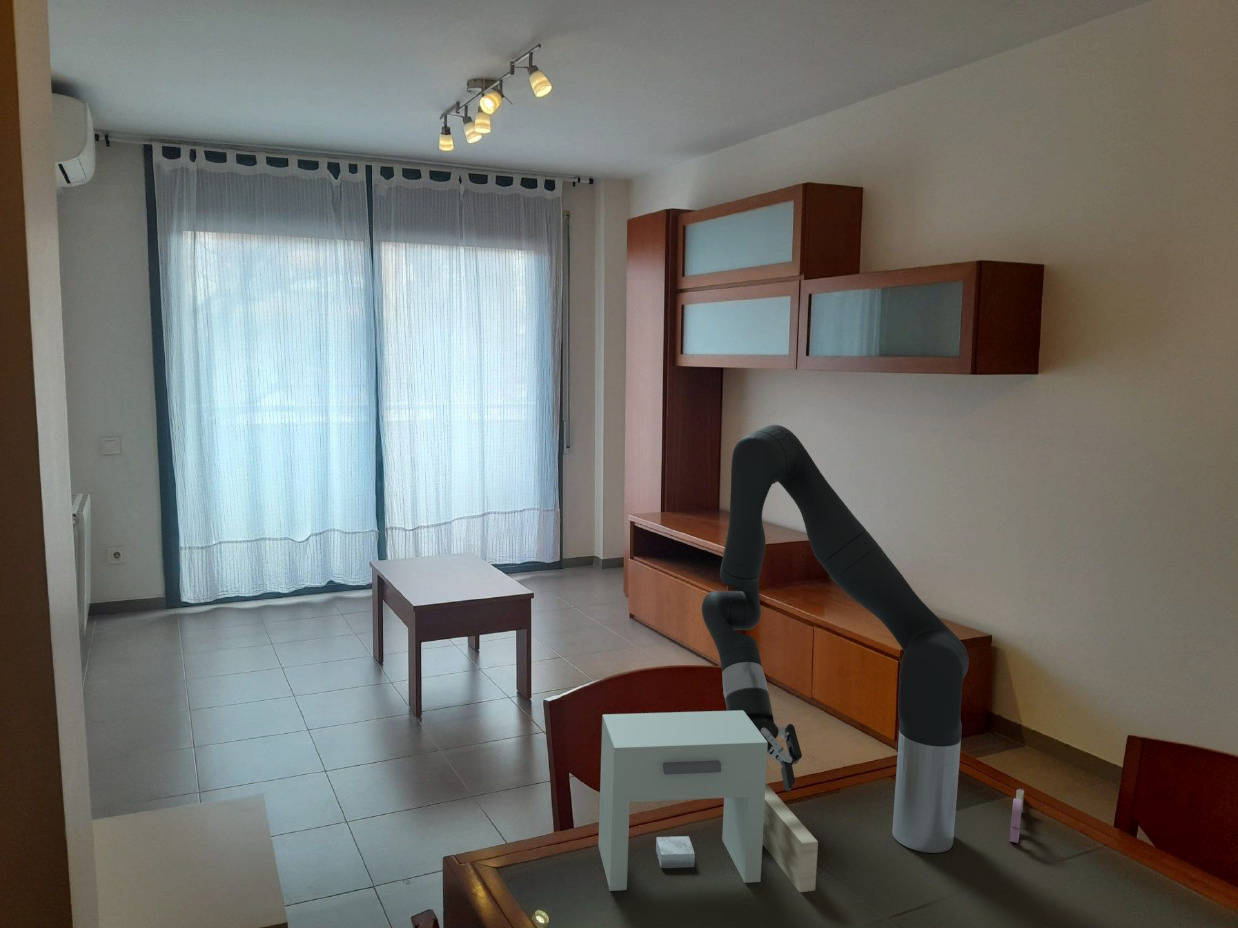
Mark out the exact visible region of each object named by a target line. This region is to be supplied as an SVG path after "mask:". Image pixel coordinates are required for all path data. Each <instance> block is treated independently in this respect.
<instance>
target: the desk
mask: <svg viewBox="0 0 1238 928" xmlns="http://www.w3.org/2000/svg"><path fill="white" fill-rule="evenodd" d="M601 721H602V722H601V748H600V749H601V753H600V780H599V781H600V785H599V786H600V787H599V789H600V790H599V813H598V814H599V815H598V816H599V819H598V820H599V821H598V822H599V823H598V850H599V854H600V858H601V863H602V866H603V869H604V873H605V877H606V881H607V885H608V889H609V890H608V891H609V892H611V891H612V892H613V891H616V892H617V891H627V888H628V865H629V864H628V863H629V862H628V858H629V837H630V836H629V832H630V831H629V830H630V829H629V827H630V803H643V802H665V801H688V800H708V799H723V817H722V834H721V835H722V839H721V840H722V842H723V844H724V846H725V848H726V849H727V852H728V854H729V856H730V857H731V860H732V862H733V864H734V865H735V867H736V869H737V871H738V873H739V875H740V878H741V879H742V881H743V883H744V884H746V883H761V881H762V880H761V879H762V862H763V861H762V859H763V858H762V857H763V844H762V842H763V823H764V804H765V785H766V784H767V782H766V780H767V763H768V753H767V746H768V742H767V741H766V740H765V738H764V737H763V736H762V734H761V733H760V732H759V730H758V729H757V728H756V726H755V725H754V724H753V722H752V721H751V720H750V718H749V717H748V716H747V715H746V713H745V712H744V711H743V710H738V711H727V710H712V711H711V710H708V711H707V710H706V711H680V712H679V711H675V712H674V711H673V712H648V713H647V712H645V713H644V712H641V713H639V712H638V713H611V714H606V713H605V714H602V717H601Z"/></svg>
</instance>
